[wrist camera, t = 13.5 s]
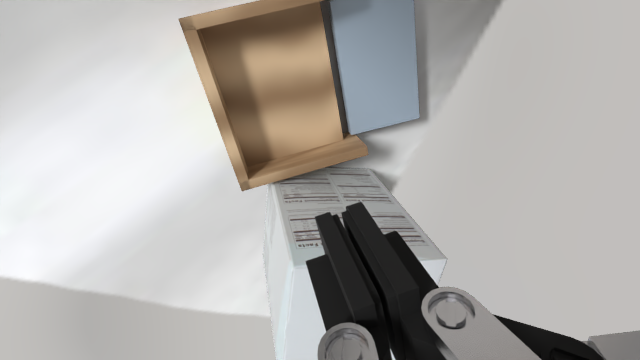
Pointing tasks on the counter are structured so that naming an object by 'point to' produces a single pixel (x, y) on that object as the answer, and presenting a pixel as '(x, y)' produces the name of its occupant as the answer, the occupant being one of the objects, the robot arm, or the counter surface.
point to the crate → (271, 88)
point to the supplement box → (304, 244)
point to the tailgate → (376, 61)
